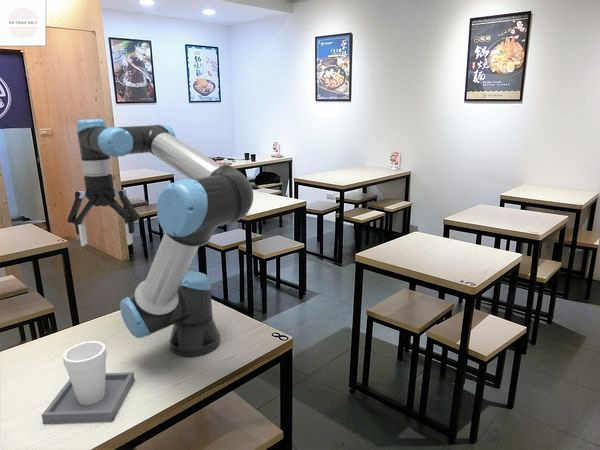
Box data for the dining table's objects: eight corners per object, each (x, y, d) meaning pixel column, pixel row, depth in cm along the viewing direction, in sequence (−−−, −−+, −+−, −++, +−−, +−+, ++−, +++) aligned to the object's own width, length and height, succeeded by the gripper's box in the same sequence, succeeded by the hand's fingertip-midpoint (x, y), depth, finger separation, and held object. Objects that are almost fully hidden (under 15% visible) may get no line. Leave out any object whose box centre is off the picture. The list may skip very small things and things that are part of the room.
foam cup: (118, 395, 110) (112, 350, 107) (81, 414, 103) (72, 366, 100) (101, 380, 116) (95, 337, 113) (65, 397, 109) (56, 352, 106)
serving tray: (134, 380, 118) (133, 372, 117) (112, 421, 102) (111, 412, 102) (74, 382, 117) (73, 374, 117) (43, 424, 102) (41, 415, 101)
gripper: (145, 171, 130) (152, 239, 135) (60, 173, 129) (71, 241, 134) (137, 175, 122) (145, 246, 128) (47, 177, 122) (59, 249, 127)
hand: (107, 244), depth 131 cm, fingers open, 13 cm apart
